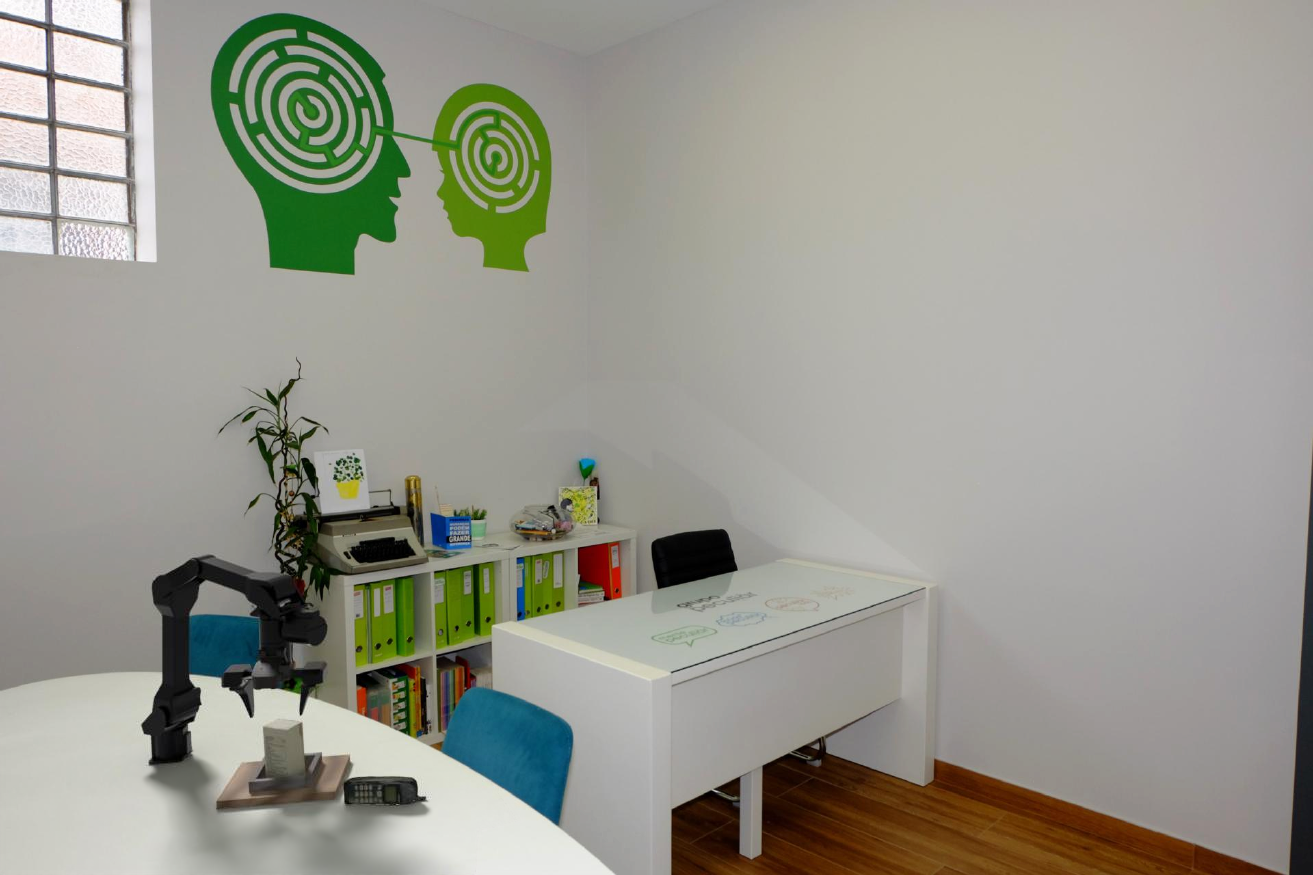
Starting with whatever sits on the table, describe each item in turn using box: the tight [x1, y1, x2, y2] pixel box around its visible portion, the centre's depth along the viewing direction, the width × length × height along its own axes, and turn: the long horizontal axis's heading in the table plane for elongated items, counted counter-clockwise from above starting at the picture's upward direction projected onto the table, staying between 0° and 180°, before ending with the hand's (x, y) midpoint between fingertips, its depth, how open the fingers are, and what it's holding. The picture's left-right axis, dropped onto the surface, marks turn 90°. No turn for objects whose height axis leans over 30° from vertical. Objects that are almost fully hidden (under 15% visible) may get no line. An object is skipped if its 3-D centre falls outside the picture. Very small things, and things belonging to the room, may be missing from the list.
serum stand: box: [215, 751, 351, 810], centre depth 169 cm, size 21×16×4 cm
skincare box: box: [262, 718, 307, 778], centre depth 168 cm, size 6×4×12 cm
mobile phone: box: [342, 775, 427, 806], centre depth 162 cm, size 5×3×15 cm
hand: (276, 716), depth 171 cm, fingers open, 9 cm apart
